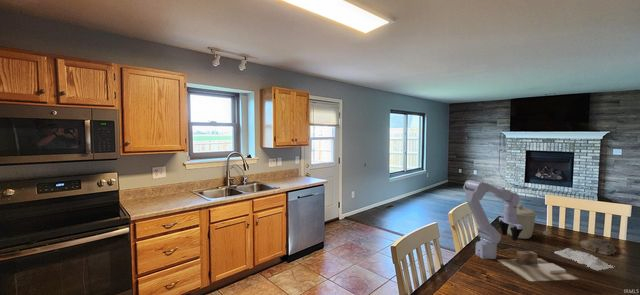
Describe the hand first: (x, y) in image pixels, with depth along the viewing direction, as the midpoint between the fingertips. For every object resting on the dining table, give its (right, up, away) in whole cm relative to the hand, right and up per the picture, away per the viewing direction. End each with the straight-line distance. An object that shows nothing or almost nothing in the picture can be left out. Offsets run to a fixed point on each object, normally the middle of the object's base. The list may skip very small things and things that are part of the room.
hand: (509, 237), depth 154 cm
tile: (+3, -9, -19) cm, 21 cm away
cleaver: (+46, -8, +34) cm, 58 cm away
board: (0, -10, -18) cm, 21 cm away
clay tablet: (+58, -9, +8) cm, 59 cm away
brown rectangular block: (+1, -9, -11) cm, 14 cm away
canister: (+24, -8, +27) cm, 37 cm away
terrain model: (+35, -11, -6) cm, 37 cm away
